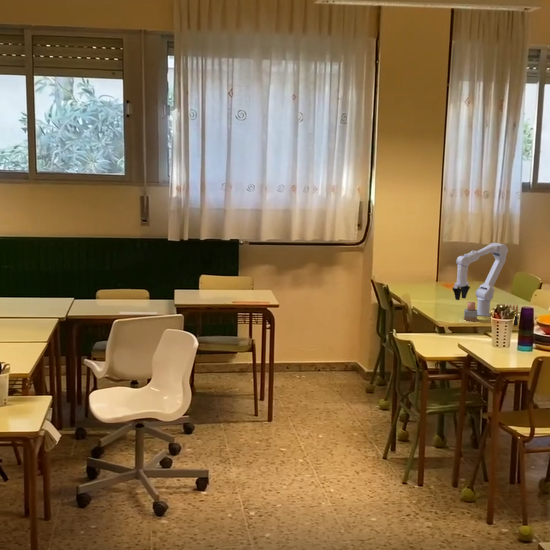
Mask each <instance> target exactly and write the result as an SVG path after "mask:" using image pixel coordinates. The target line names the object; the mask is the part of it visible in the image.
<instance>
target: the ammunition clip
mask: <svg viewBox="0 0 550 550" xmlns="http://www.w3.org/2000/svg"><path fill="white" fill-rule="evenodd" d="M500 305H502V306H503V305H505V306H508V307H510V308H511V310H514V311H515V312H516V316H515V320H514V325H513V326H518V325H519V324H518V323H519V321H518V317H519V304H516V305H515V304H513V305H512V303H510V304H509V303H507V304H505V303H503V304H502V303H500ZM500 305H499V306H500Z"/></svg>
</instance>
